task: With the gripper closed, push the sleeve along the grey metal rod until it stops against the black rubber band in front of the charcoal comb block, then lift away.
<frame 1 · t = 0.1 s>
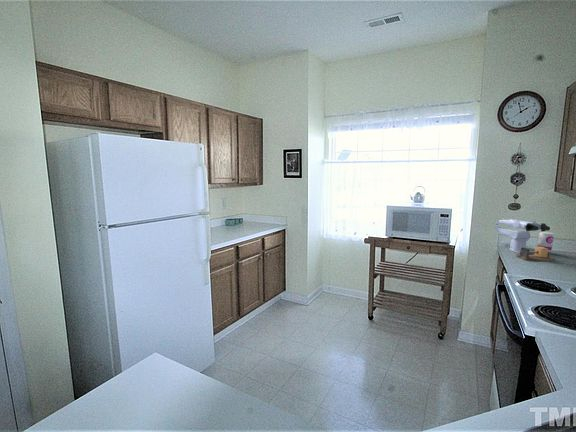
hand: (543, 228, 206), 22 cm above the countertop, tool horizontal, fingers open, 7 cm apart
rail stand: (535, 258, 212), on the countertop
sleeve: (541, 251, 211), point 5 cm above the countertop, slide at 0.0 cm
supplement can: (543, 252, 228), on the countertop
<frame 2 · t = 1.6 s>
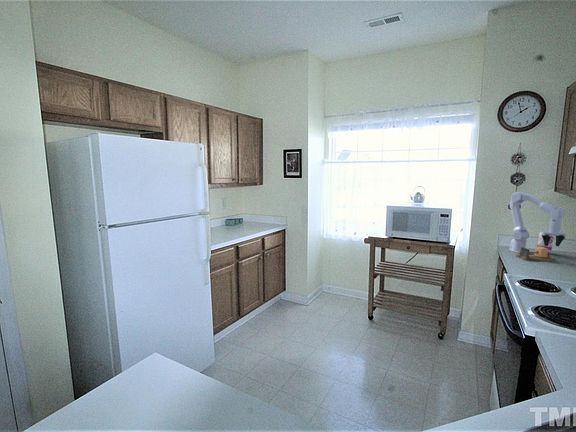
hand: (551, 245, 210), 9 cm above the countertop, tool pointing down, fingers open, 7 cm apart
nothing on the countertop moved.
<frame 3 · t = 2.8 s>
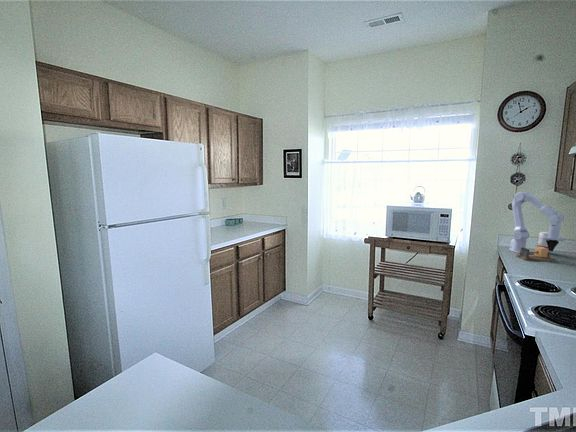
hand: (550, 250, 210), 6 cm above the countertop, tool pointing down, fingers closed
nothing on the countertop moved.
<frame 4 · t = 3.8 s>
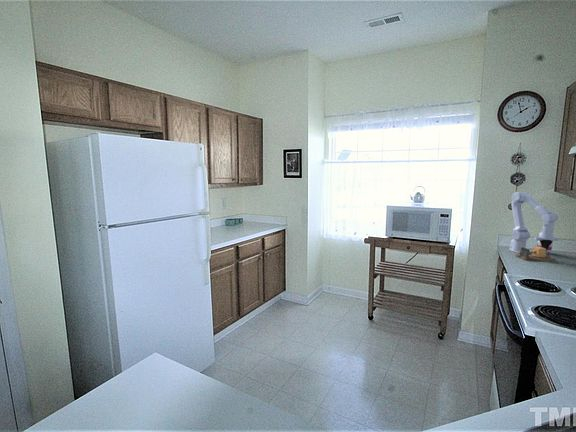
hand: (544, 250, 211), 6 cm above the countertop, tool pointing down, fingers closed
sleeve: (538, 251, 211), point 5 cm above the countertop, slide at 1.5 cm, touching gripper
everything else where it was.
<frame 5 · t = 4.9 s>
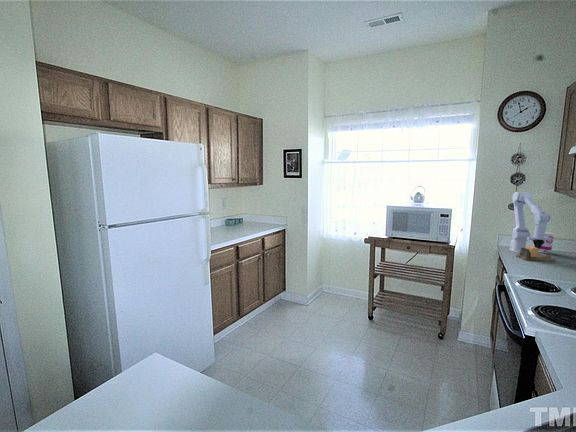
hand: (536, 250, 211), 6 cm above the countertop, tool pointing down, fingers closed
sleeve: (531, 251, 211), point 5 cm above the countertop, slide at 6.2 cm, touching gripper
everything else where it was.
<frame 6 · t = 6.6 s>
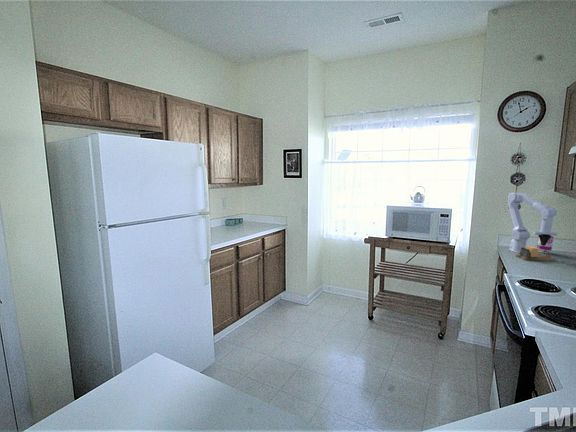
hand: (543, 245, 211), 9 cm above the countertop, tool pointing down, fingers closed
sleeve: (531, 251, 211), point 5 cm above the countertop, slide at 6.2 cm
everything else where it was.
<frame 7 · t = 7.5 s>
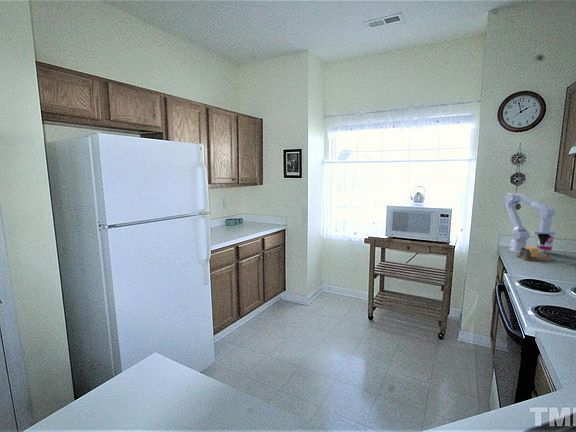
hand: (542, 244, 213), 9 cm above the countertop, tool pointing down, fingers closed
nothing on the countertop moved.
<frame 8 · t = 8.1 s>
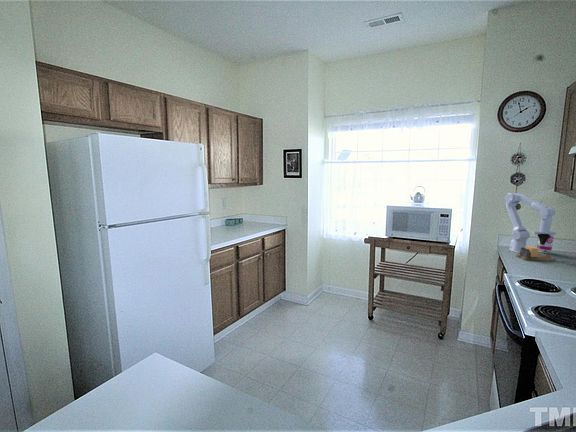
hand: (542, 244, 213), 9 cm above the countertop, tool pointing down, fingers closed
nothing on the countertop moved.
at the end: sleeve slide at 6.2 cm; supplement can moved 0.2 cm from its start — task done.
